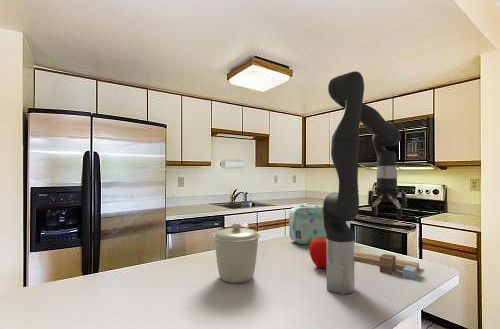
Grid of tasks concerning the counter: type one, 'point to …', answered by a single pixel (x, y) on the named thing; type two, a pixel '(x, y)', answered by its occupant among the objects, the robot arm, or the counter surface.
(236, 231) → the canister
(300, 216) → the lunch box
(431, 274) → the counter surface
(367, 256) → the oak board
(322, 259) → the tomato
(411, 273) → the slate stop block
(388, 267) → the walnut block
